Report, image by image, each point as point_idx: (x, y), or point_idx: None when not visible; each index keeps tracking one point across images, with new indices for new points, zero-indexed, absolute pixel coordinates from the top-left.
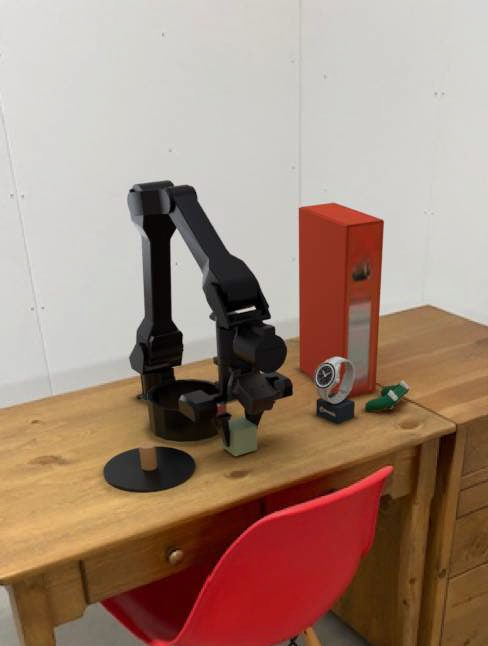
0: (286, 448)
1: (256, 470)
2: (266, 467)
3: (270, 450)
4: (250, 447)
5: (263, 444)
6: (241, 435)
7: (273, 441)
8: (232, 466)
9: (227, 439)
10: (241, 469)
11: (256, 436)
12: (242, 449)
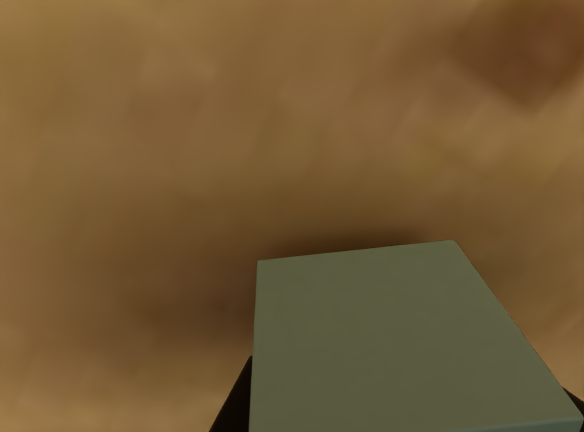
0: (26, 231)
1: (382, 29)
2: (285, 34)
3: (147, 254)
4: (321, 274)
5: (162, 331)
6: (454, 371)
7: (88, 337)
8: (485, 178)
9: None
10: (465, 107)
11: (258, 342)
12: (399, 269)
